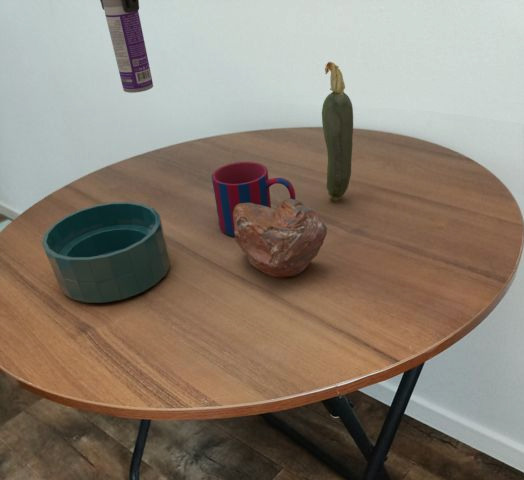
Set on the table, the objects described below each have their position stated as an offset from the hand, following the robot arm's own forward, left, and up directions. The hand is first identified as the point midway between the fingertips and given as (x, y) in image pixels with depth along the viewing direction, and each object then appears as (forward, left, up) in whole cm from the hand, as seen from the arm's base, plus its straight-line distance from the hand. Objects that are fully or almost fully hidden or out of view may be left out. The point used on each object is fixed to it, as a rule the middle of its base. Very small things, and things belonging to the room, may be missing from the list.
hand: (121, 10), depth 74 cm
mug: (+24, 0, -27) cm, 36 cm away
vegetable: (+29, +13, -27) cm, 42 cm away
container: (0, 0, -11) cm, 11 cm away
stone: (+35, -8, -27) cm, 45 cm away
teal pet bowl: (+17, -21, -27) cm, 38 cm away
